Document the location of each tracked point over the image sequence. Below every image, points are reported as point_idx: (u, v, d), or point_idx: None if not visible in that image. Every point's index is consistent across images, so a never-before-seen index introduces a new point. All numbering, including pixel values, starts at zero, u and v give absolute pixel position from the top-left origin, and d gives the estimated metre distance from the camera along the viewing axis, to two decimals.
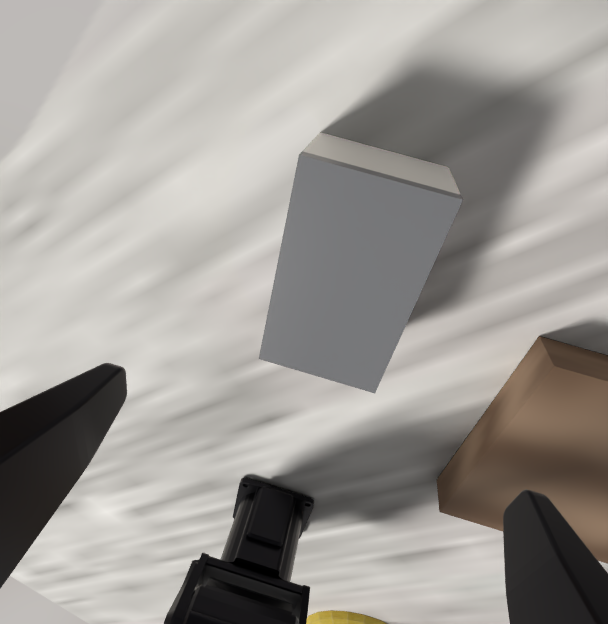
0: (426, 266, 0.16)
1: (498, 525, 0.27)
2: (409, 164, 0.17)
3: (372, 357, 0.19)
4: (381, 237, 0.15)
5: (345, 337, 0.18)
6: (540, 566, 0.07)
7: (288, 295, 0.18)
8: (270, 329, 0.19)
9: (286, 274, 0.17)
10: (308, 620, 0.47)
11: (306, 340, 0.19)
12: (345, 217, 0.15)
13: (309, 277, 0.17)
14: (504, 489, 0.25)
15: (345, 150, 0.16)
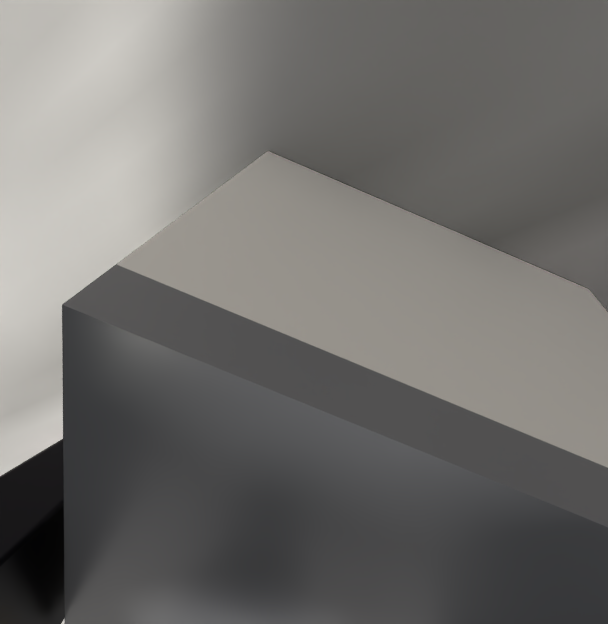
0: None
1: None
2: (518, 299, 0.05)
3: None
4: (424, 619, 0.04)
5: None
6: None
7: None
8: None
9: (98, 597, 0.05)
10: None
11: None
12: (291, 546, 0.04)
13: (167, 619, 0.05)
14: None
15: (325, 238, 0.05)
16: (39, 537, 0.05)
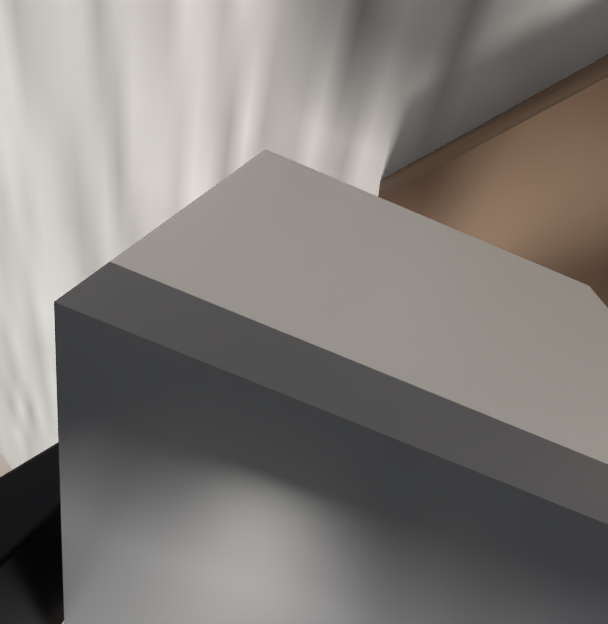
0: None
1: None
2: (517, 296, 0.05)
3: None
4: (424, 619, 0.04)
5: None
6: None
7: None
8: None
9: (96, 599, 0.05)
10: None
11: None
12: (289, 544, 0.04)
13: (166, 619, 0.05)
14: None
15: (323, 236, 0.05)
16: (40, 537, 0.05)
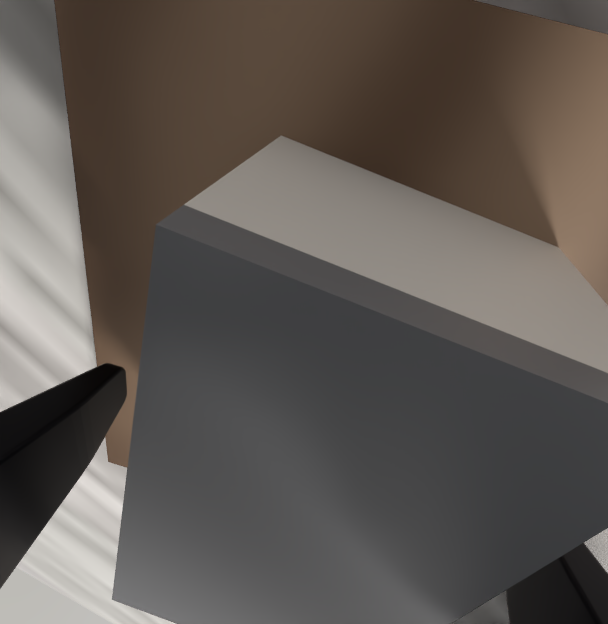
0: (529, 560, 0.05)
1: None
2: (491, 249, 0.07)
3: None
4: (415, 483, 0.05)
5: (293, 615, 0.08)
6: None
7: (161, 532, 0.07)
8: (128, 570, 0.08)
9: (152, 499, 0.07)
10: None
11: (207, 600, 0.08)
12: (313, 422, 0.05)
13: (209, 515, 0.06)
14: None
15: (332, 198, 0.06)
16: None
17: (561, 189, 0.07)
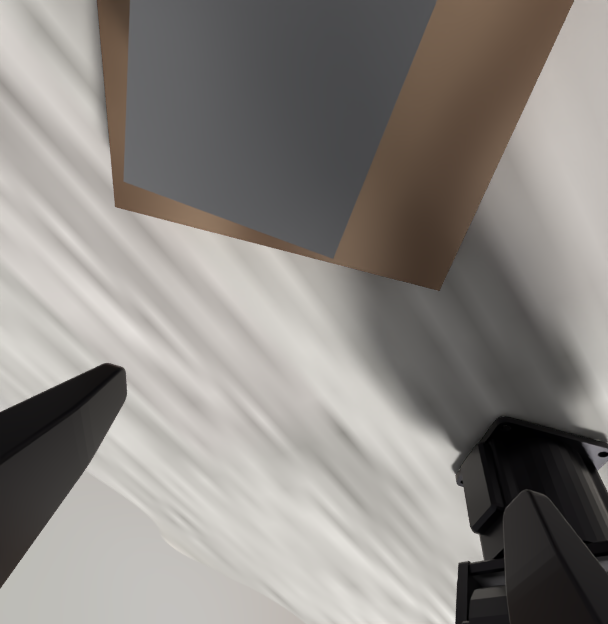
0: None
1: (468, 196, 0.14)
2: None
3: (331, 174, 0.10)
4: None
5: (281, 123, 0.09)
6: (540, 566, 0.07)
7: (164, 6, 0.08)
8: (137, 105, 0.10)
9: None
10: None
11: (207, 133, 0.10)
12: None
13: None
14: (354, 209, 0.15)
15: None
16: None
17: None
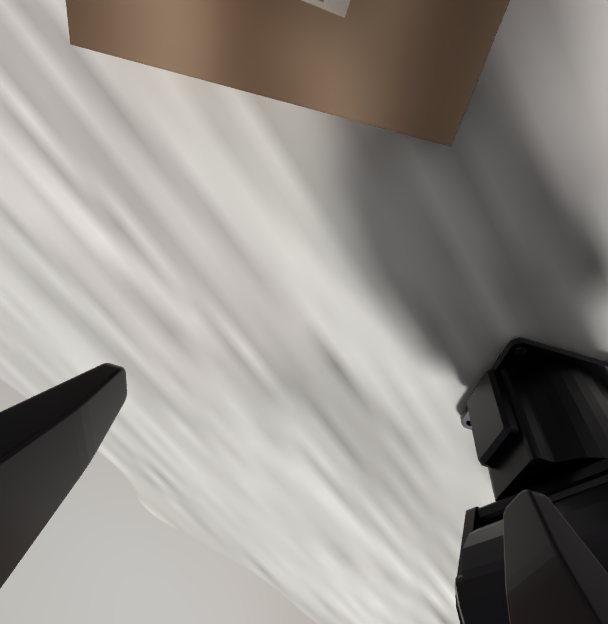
0: None
1: (491, 2, 0.12)
2: None
3: None
4: None
5: None
6: (540, 566, 0.07)
7: None
8: None
9: None
10: None
11: None
12: None
13: None
14: (351, 31, 0.13)
15: None
16: None
17: None
